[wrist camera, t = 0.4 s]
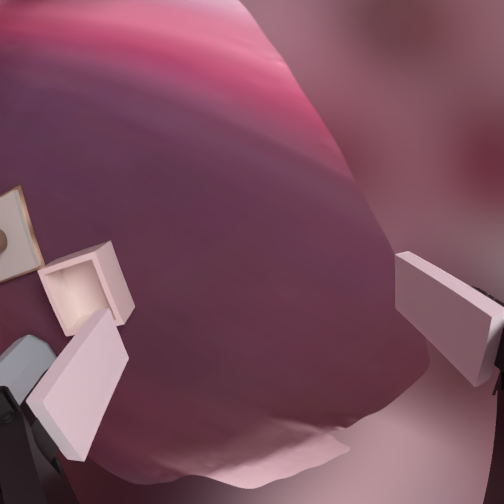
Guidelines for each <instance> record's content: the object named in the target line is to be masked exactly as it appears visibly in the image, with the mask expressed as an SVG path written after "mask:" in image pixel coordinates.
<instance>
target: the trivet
mask: <svg viewBox="0 0 504 504" xmlns="http://www.w3.org/2000/svg"><path fill="white" fill-rule="evenodd" d="M13 190H18V193H19V197H20V201H21V204H22V208H23V212H24V215H25V219H26V222H27V225H28V229H29V232H30V235H31V238H32V241H33V244H34V247H35V250H36V253H37V256H38V259H39V262H40V264H41V265H40V266H38V267H37V268H34V269H31V270H28V271H26V272H23V273H20V274H17V275H15V276H12V277H9V278H7V279H4V280H2V281H0V283H2V282H5V281H8V280H10V279H13V278H16V277H18V276H21V275H24V274H27V273H29V272H32V271H35V270H38V269H41V268H43V267H44V266H45V263H44V260H43V257H42V255H41V252H40V249H39V246H38V243H37V240H36V237H35V234H34V231H33V227H32V224H31V221H30V217H29V214H28V210H27V207H26V203H25V199H24V195H23V191H22V187H21V185H19V186H17V187H15V188H13V189H12V190H10V191H8V192H6V193H5V194H3V195H1V196H0V198H1V197H3V196H4V195H6V194H8V193H10V192H11V191H13Z"/></svg>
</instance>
